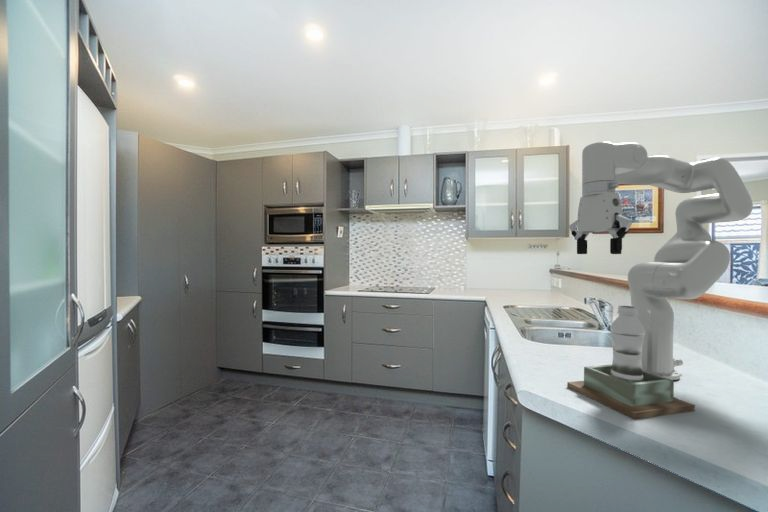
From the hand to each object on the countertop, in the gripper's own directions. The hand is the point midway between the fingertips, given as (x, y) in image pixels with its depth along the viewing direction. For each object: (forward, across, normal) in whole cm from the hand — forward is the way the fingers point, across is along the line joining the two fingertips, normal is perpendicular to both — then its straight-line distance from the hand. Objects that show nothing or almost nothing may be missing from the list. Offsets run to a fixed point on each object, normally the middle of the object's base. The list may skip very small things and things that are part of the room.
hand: (598, 254), depth 90 cm
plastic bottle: (+32, -11, +5) cm, 35 cm away
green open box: (+34, -11, +5) cm, 36 cm away
